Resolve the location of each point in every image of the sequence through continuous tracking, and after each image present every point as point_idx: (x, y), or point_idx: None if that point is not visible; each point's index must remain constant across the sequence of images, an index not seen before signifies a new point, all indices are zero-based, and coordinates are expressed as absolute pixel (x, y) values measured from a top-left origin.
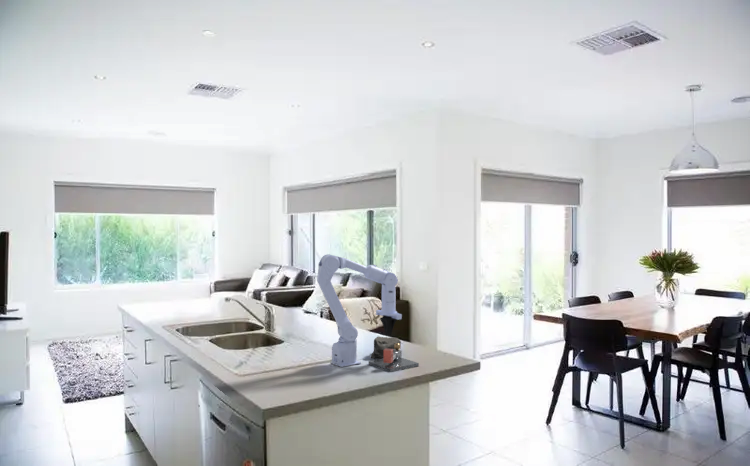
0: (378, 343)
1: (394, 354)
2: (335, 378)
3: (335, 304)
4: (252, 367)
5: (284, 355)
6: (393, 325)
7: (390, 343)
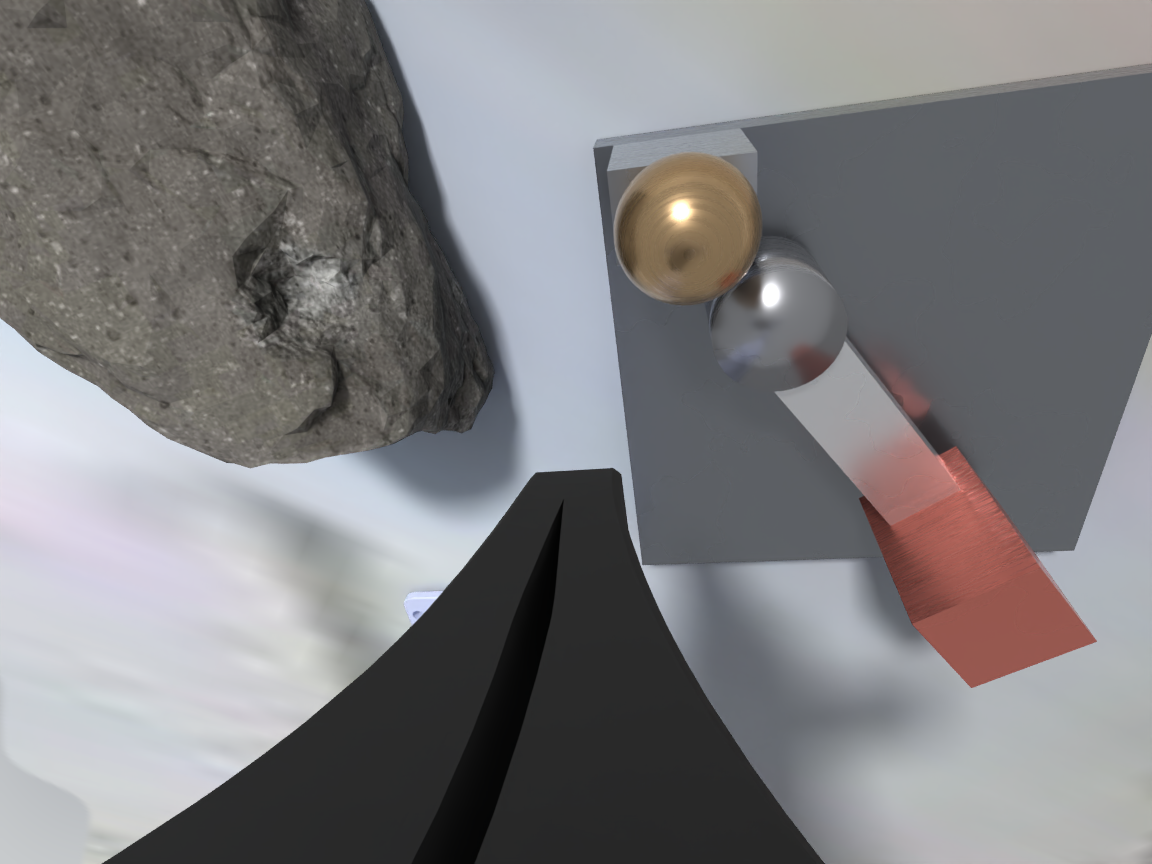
0: (357, 429)
1: (859, 382)
2: (850, 834)
3: None
4: None
5: (146, 809)
6: (686, 673)
7: (251, 121)
